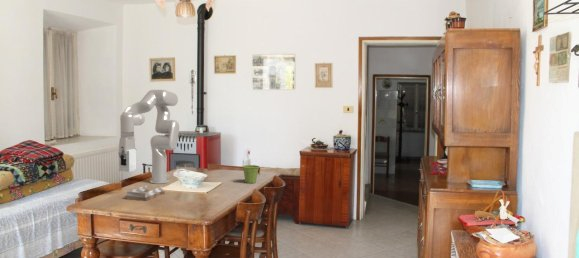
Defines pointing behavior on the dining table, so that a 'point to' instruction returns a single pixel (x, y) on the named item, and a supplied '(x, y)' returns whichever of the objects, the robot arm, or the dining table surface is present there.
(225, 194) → the dining table surface
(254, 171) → the plant pot
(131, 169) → the supplement box
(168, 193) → the dining table surface
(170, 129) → the robot arm
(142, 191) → the board
